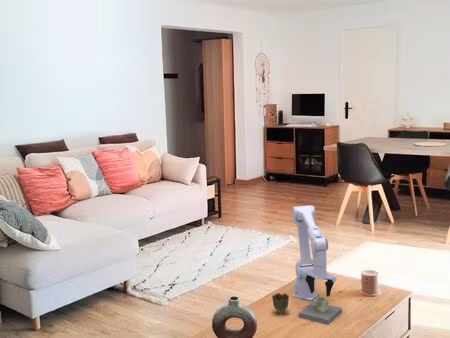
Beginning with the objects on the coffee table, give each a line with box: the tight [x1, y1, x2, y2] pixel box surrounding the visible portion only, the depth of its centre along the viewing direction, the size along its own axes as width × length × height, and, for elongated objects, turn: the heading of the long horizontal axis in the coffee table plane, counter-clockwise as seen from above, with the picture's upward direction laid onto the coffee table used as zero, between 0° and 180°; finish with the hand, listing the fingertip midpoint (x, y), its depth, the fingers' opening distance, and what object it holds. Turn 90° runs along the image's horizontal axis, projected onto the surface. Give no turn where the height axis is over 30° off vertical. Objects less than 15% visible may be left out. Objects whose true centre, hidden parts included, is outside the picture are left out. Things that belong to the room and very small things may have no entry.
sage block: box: [312, 295, 329, 313], centre depth 229 cm, size 5×5×5 cm
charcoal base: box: [298, 301, 343, 325], centre depth 230 cm, size 14×14×2 cm
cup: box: [271, 292, 290, 315], centre depth 233 cm, size 8×7×8 cm
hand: (320, 294), depth 229 cm, fingers open, 7 cm apart
